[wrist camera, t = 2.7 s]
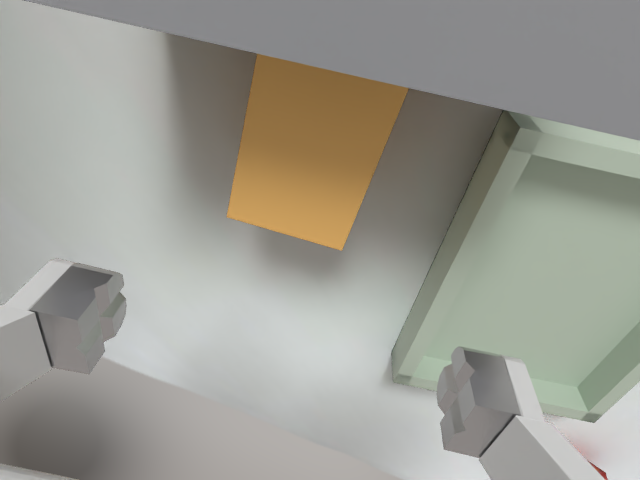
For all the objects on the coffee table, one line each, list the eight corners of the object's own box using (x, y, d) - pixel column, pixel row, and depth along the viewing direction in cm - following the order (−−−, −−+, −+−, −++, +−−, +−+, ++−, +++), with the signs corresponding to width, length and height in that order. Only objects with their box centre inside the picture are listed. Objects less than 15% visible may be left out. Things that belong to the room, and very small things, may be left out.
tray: (391, 352, 30) (393, 382, 28) (504, 107, 19) (520, 127, 17) (579, 390, 31) (593, 422, 29) (790, 172, 20) (837, 199, 18)
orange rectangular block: (254, 168, 23) (223, 232, 18) (321, -138, 15) (298, -170, 10) (343, 195, 23) (336, 264, 18) (450, -89, 16) (485, -99, 11)
